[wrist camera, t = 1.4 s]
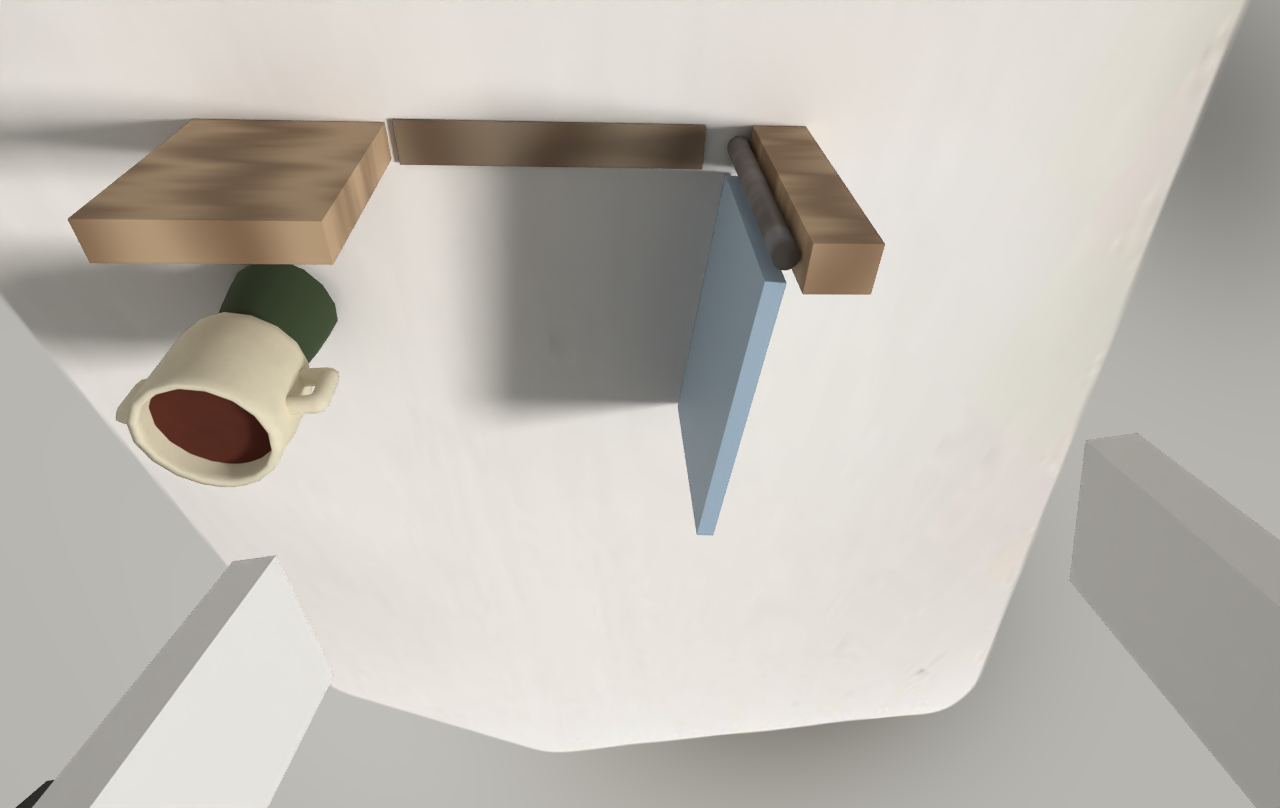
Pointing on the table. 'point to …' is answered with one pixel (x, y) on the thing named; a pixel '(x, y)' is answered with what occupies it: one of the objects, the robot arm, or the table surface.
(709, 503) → the door
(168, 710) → the robot arm
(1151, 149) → the table surface
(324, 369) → the character mug
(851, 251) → the door frame
